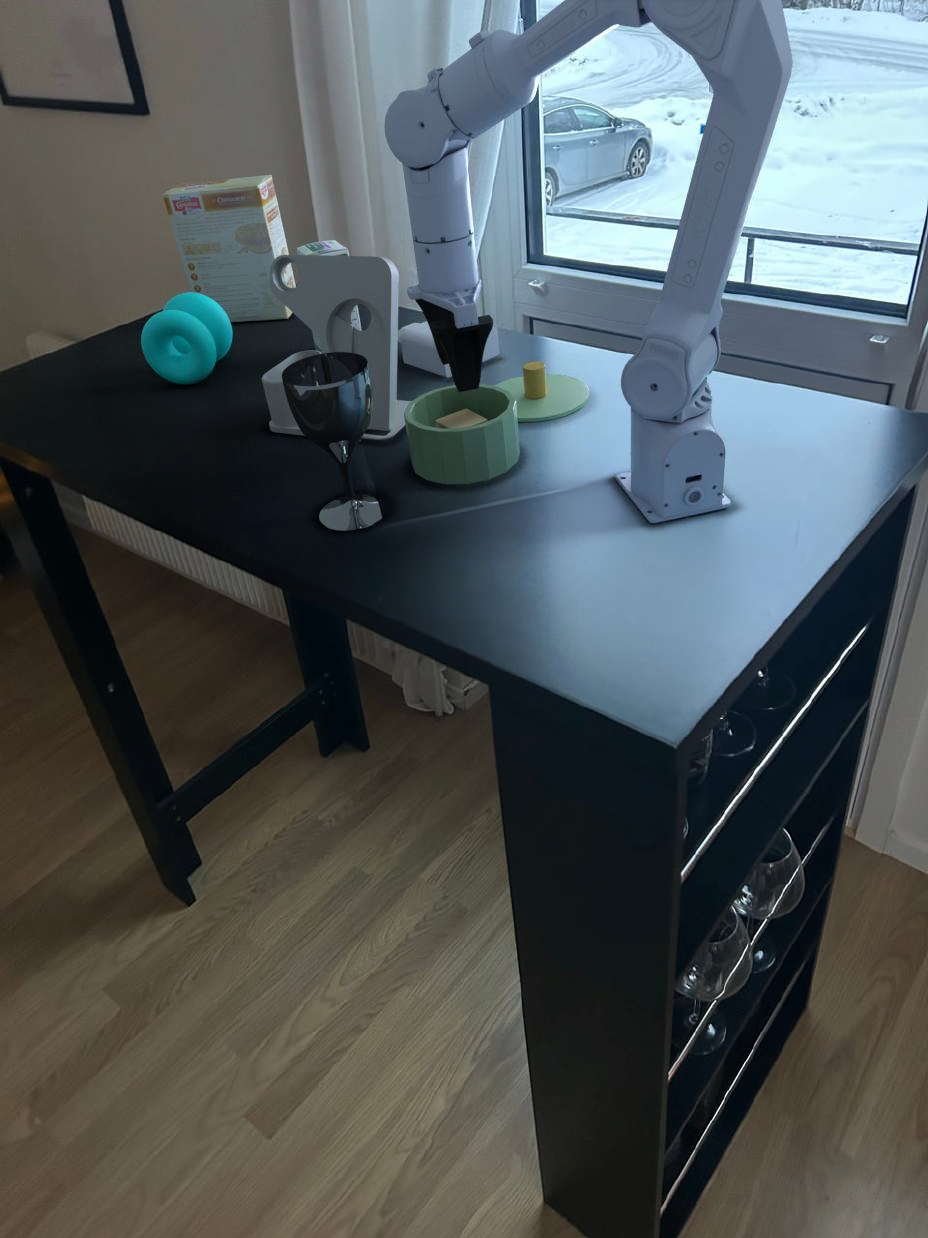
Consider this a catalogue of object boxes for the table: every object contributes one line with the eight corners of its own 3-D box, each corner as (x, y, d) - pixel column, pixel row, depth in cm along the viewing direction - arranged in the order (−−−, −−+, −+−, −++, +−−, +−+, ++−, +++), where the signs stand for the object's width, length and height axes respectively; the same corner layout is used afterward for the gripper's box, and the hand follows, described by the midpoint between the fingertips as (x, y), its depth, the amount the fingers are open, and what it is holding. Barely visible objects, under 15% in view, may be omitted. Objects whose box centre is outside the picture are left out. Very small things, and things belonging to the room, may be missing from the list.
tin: (532, 475, 94) (528, 417, 91) (424, 497, 93) (415, 439, 89) (504, 430, 104) (499, 376, 100) (405, 450, 102) (396, 395, 98)
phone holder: (263, 430, 111) (223, 278, 100) (308, 396, 118) (276, 250, 107) (388, 445, 104) (360, 283, 93) (429, 407, 111) (407, 252, 100)
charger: (427, 336, 130) (500, 358, 121) (376, 357, 126) (447, 382, 116) (423, 302, 128) (497, 322, 118) (370, 323, 123) (442, 345, 113)
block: (491, 458, 98) (487, 419, 95) (460, 471, 96) (455, 431, 93) (470, 446, 100) (466, 407, 98) (439, 458, 99) (434, 419, 96)
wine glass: (354, 485, 97) (326, 346, 88) (409, 503, 92) (386, 359, 84) (298, 519, 92) (263, 377, 83) (354, 540, 88) (323, 392, 79)
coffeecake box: (301, 304, 148) (273, 173, 137) (288, 319, 143) (258, 184, 131) (213, 310, 151) (179, 181, 139) (198, 325, 145) (160, 193, 134)
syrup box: (315, 353, 130) (292, 246, 121) (354, 343, 131) (335, 237, 123) (327, 365, 125) (305, 255, 117) (368, 355, 127) (349, 245, 118)
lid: (604, 413, 104) (603, 374, 101) (498, 435, 103) (494, 395, 100) (570, 374, 114) (568, 337, 111) (473, 393, 113) (469, 356, 110)
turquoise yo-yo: (243, 357, 132) (224, 286, 126) (221, 385, 124) (200, 311, 118) (177, 361, 133) (156, 292, 127) (151, 390, 125) (127, 317, 119)
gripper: (388, 224, 90) (408, 357, 98) (414, 262, 79) (435, 410, 87) (458, 212, 91) (472, 345, 99) (494, 248, 80) (507, 396, 88)
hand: (459, 375), depth 93 cm, fingers open, 7 cm apart
